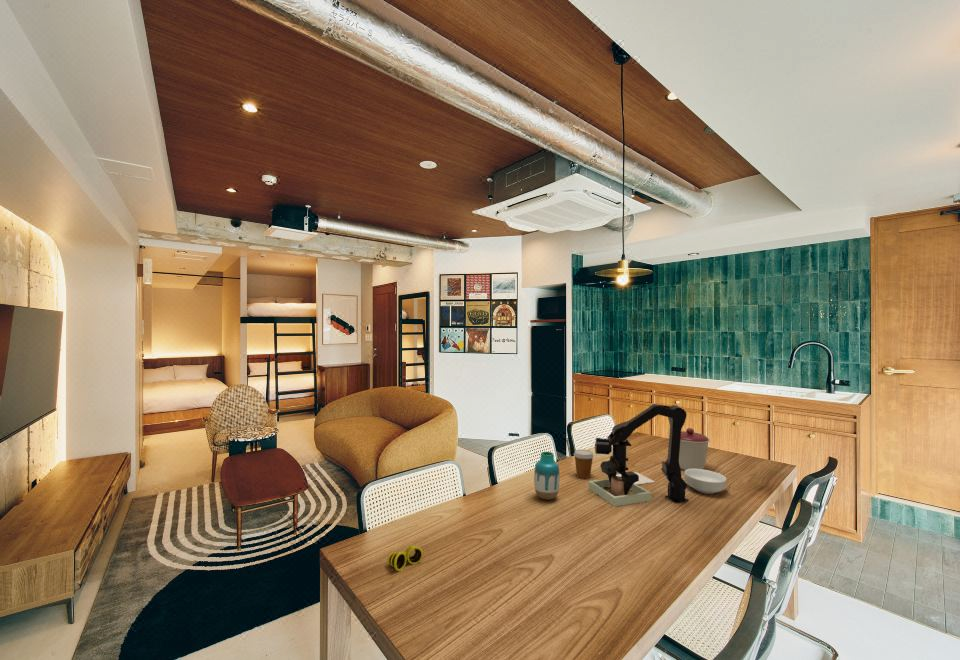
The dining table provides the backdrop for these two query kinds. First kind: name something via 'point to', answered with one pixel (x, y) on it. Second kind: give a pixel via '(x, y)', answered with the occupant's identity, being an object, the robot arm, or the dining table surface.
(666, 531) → the dining table surface
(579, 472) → the disposable coffee cup
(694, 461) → the canister
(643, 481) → the potting mat
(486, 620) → the dining table surface
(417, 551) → the opera glasses
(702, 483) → the cereal bowl
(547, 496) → the vase
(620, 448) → the robot arm
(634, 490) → the shallow rimmed tray
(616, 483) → the terracotta pot
